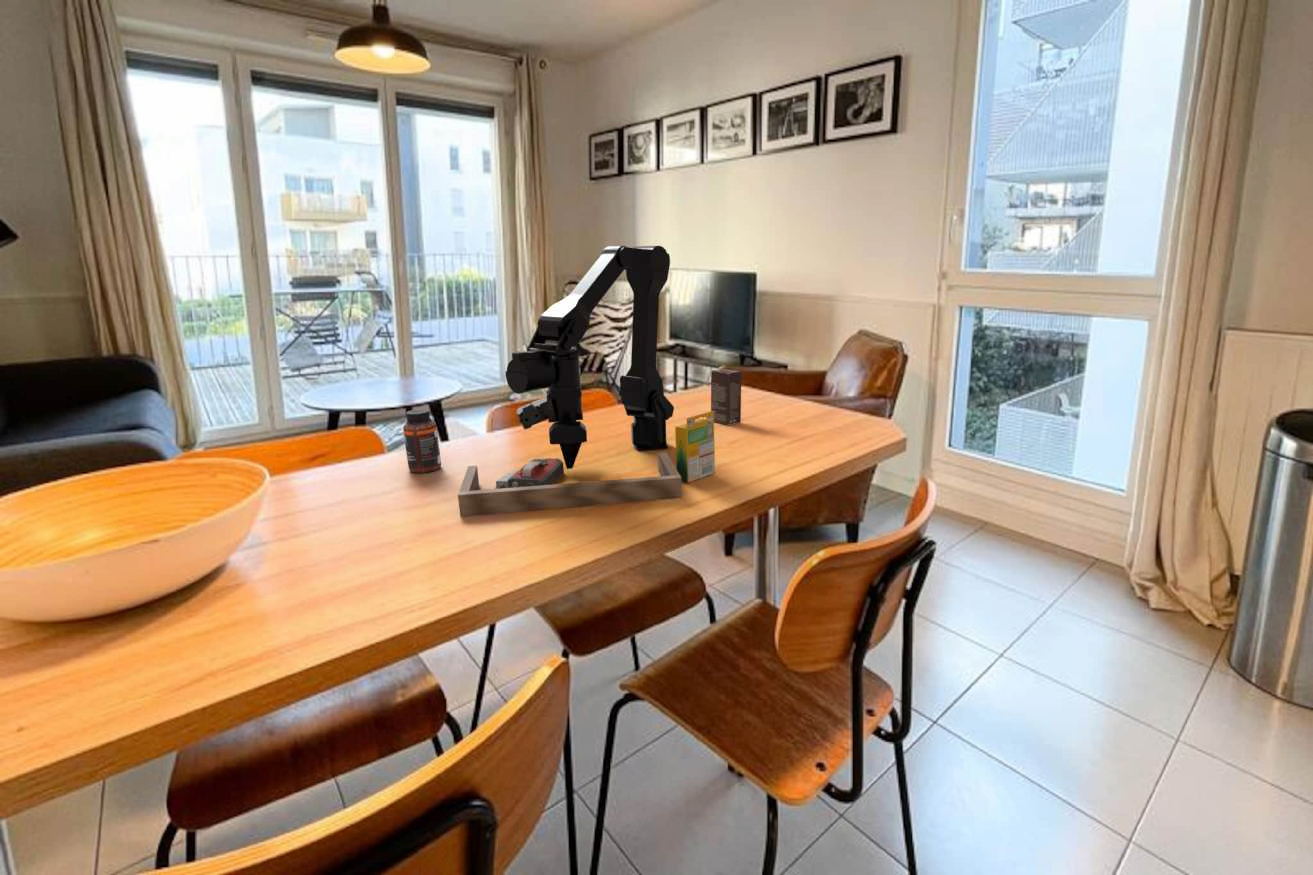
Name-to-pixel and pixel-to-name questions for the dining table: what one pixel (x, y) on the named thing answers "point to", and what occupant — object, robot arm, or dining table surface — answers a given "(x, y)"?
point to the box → (726, 396)
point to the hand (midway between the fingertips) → (569, 468)
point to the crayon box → (695, 447)
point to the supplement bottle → (421, 442)
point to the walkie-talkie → (533, 474)
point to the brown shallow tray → (569, 492)
